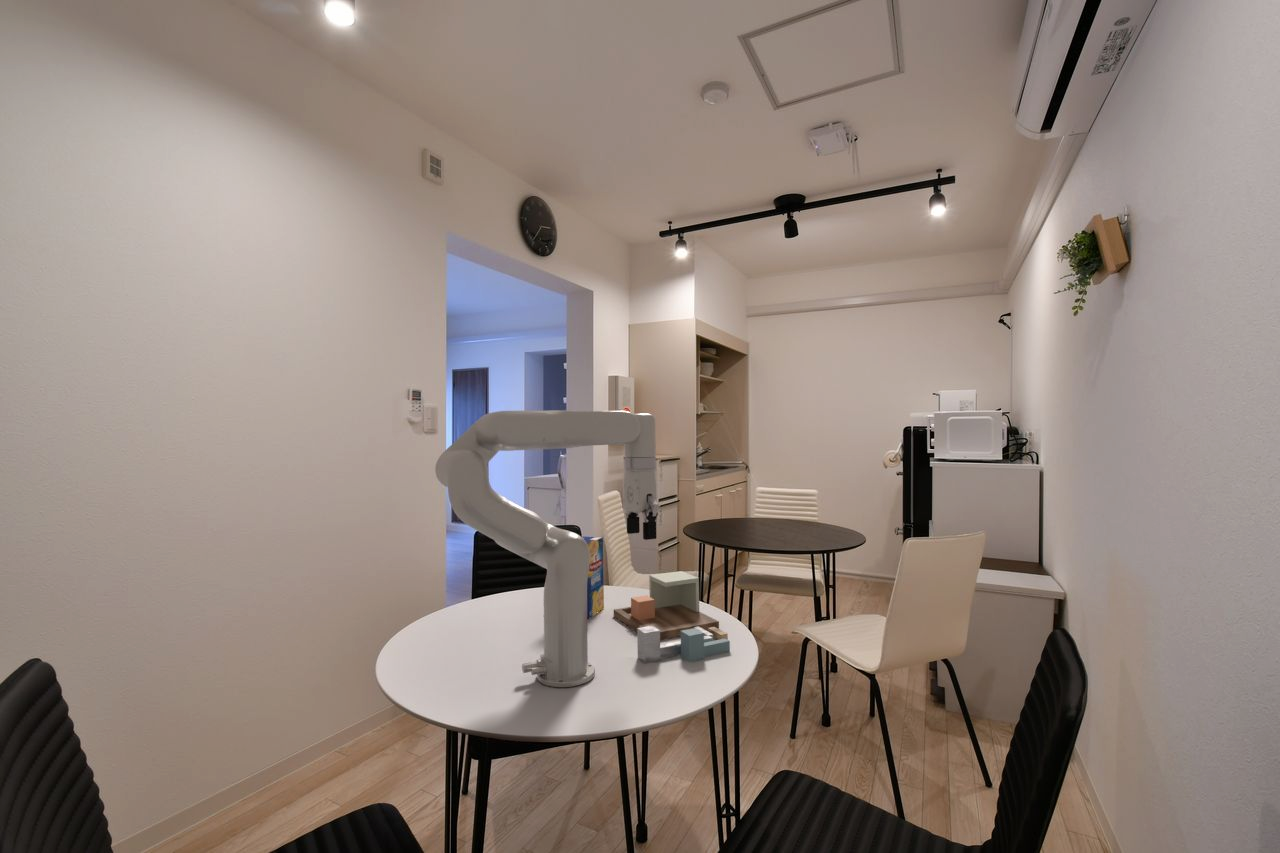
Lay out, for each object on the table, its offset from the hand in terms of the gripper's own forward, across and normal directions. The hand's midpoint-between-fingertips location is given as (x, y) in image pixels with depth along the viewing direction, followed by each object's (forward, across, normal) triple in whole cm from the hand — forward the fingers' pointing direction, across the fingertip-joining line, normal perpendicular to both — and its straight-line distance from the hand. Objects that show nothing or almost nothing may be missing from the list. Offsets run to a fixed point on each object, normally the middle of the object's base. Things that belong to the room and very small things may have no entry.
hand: (641, 536), depth 134 cm
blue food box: (+29, -39, -1) cm, 49 cm away
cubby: (+27, -24, +21) cm, 41 cm away
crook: (+29, -1, +9) cm, 30 cm away
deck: (+29, -21, +16) cm, 39 cm away
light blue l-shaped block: (+29, +5, +14) cm, 33 cm away
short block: (+29, -2, +22) cm, 36 cm away
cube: (+27, -22, +10) cm, 36 cm away
